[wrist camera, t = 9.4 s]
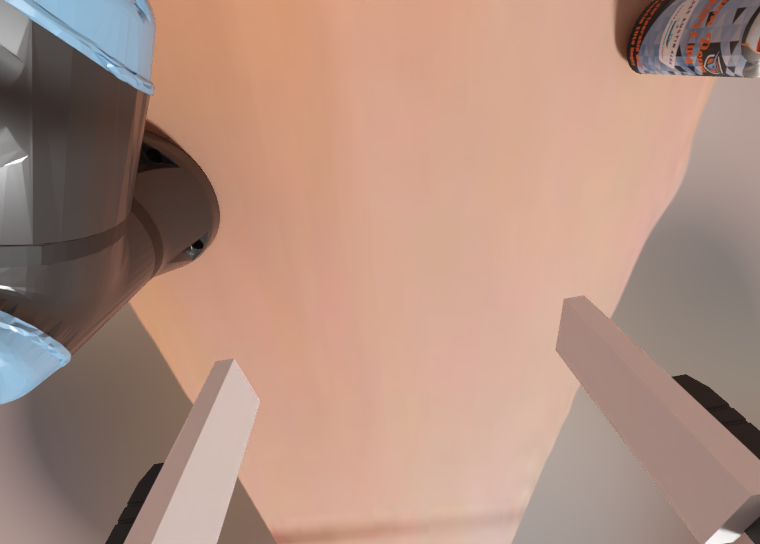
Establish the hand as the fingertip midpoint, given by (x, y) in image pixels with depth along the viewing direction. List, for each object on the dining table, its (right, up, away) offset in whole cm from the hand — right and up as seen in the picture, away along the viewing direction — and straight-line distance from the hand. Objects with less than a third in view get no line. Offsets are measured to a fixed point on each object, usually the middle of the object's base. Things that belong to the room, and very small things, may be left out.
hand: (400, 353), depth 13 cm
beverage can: (+25, +25, +17) cm, 39 cm away
